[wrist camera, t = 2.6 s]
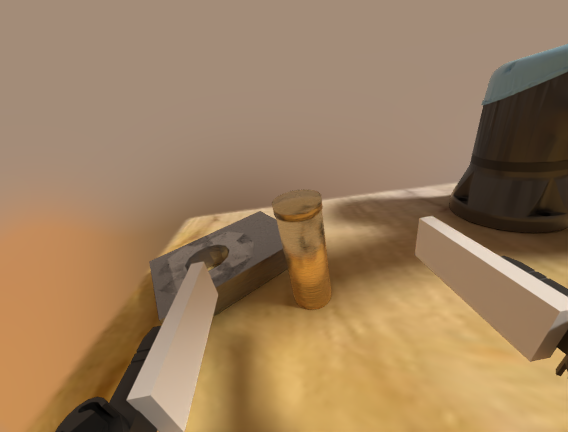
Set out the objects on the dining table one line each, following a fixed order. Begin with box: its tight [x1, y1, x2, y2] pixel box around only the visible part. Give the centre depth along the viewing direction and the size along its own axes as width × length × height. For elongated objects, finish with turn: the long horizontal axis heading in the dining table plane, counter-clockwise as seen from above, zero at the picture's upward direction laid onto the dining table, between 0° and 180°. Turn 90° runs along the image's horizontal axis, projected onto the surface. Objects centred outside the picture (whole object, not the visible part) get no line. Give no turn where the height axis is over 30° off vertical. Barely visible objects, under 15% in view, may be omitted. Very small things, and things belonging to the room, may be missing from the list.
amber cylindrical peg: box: [272, 190, 331, 310], centre depth 25 cm, size 5×5×14 cm
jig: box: [149, 211, 288, 324], centre depth 36 cm, size 22×15×4 cm
